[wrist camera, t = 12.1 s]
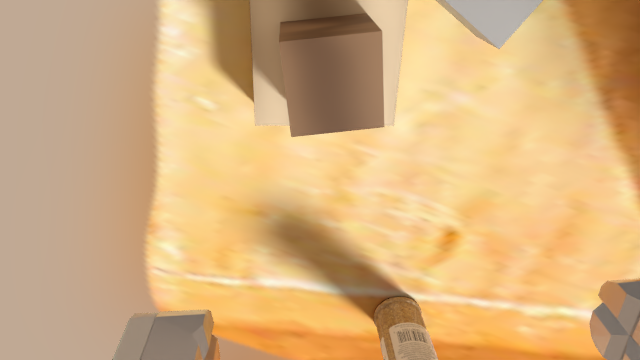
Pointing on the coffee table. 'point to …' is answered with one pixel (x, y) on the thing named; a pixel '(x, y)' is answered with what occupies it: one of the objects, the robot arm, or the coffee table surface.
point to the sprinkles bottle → (403, 331)
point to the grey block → (491, 17)
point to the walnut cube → (332, 74)
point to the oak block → (310, 3)
